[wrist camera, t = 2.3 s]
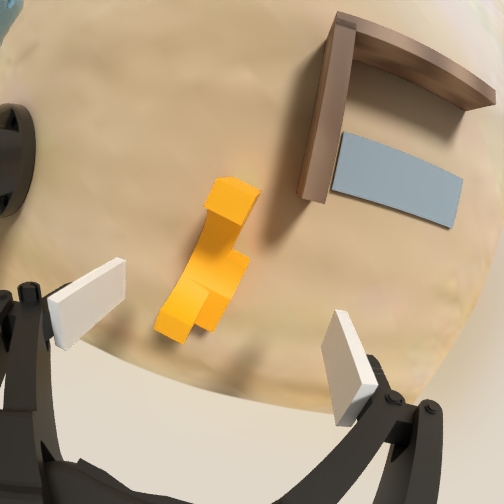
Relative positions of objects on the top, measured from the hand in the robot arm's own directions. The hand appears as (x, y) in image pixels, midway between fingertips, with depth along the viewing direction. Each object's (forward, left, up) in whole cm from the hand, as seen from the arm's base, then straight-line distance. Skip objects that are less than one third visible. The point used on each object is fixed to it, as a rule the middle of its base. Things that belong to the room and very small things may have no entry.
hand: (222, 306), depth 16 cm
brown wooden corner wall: (+11, +14, -8) cm, 20 cm away
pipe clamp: (-1, +1, -9) cm, 9 cm away
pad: (+13, +10, -8) cm, 18 cm away
